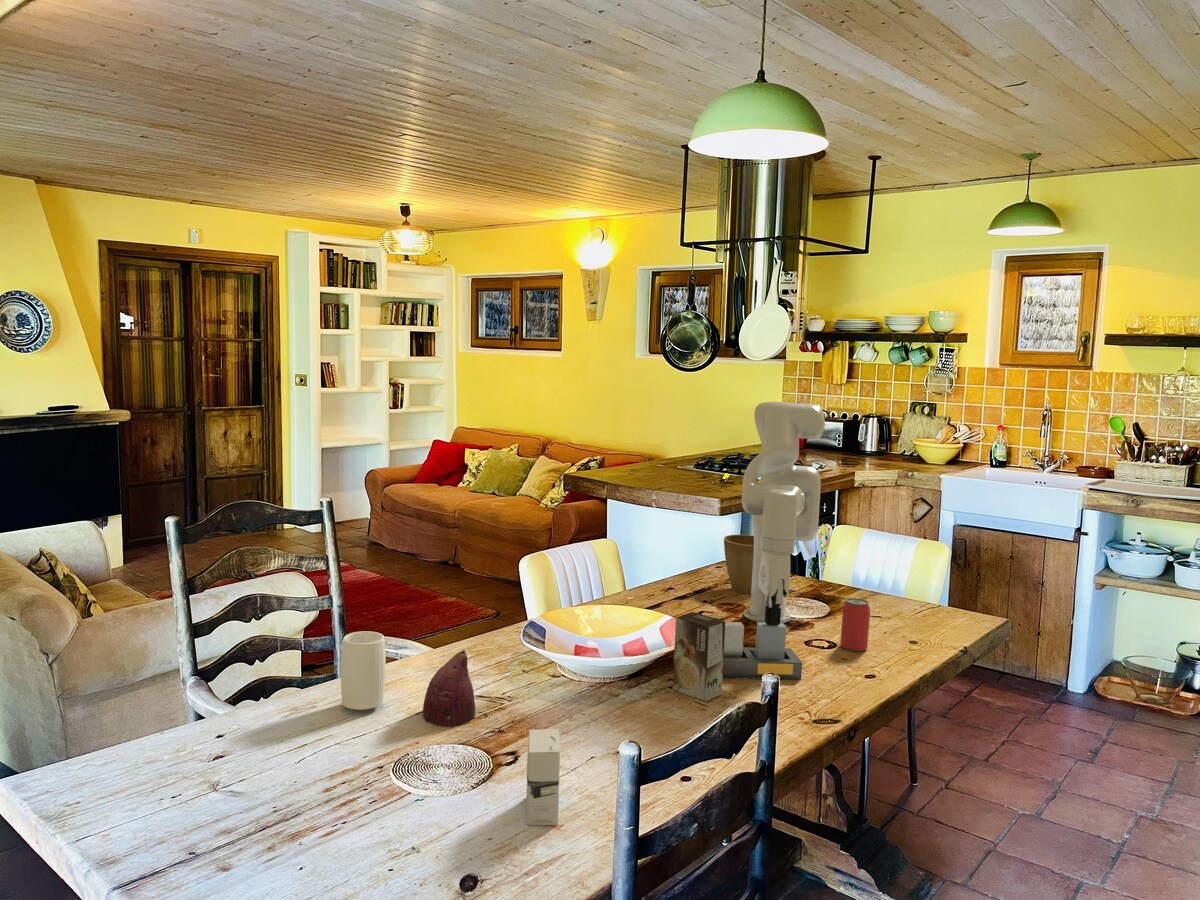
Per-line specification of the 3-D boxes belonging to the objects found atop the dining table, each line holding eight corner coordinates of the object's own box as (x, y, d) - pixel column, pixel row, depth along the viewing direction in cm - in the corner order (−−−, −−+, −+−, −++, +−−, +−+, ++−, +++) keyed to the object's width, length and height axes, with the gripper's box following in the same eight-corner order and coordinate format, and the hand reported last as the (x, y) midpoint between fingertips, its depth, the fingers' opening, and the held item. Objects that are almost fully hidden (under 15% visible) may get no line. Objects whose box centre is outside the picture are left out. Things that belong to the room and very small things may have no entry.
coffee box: (723, 694, 191) (727, 621, 189) (705, 702, 186) (709, 627, 185) (688, 682, 197) (692, 611, 196) (670, 689, 193) (674, 616, 191)
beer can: (864, 644, 229) (868, 598, 227) (869, 653, 222) (873, 605, 221) (838, 642, 229) (841, 596, 228) (842, 651, 223) (846, 603, 221)
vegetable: (480, 726, 178) (503, 655, 177) (455, 740, 168) (480, 665, 167) (435, 704, 181) (458, 634, 180) (408, 716, 171) (433, 643, 170)
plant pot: (719, 595, 269) (722, 542, 267) (721, 582, 284) (724, 532, 282) (770, 599, 267) (773, 546, 265) (769, 586, 281) (772, 536, 279)
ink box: (525, 798, 144) (528, 727, 143) (556, 798, 145) (559, 727, 143) (525, 826, 136) (528, 751, 134) (558, 826, 136) (561, 751, 135)
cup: (370, 695, 182) (371, 627, 181) (393, 708, 176) (394, 638, 175) (332, 706, 176) (332, 636, 175) (354, 720, 170) (355, 647, 169)
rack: (696, 663, 210) (699, 617, 208) (790, 664, 211) (793, 619, 210) (704, 678, 200) (707, 630, 199) (802, 680, 202) (806, 632, 200)
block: (754, 664, 207) (757, 622, 206) (780, 665, 208) (783, 623, 207) (757, 669, 204) (760, 626, 203) (783, 669, 205) (786, 627, 204)
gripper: (753, 537, 210) (748, 613, 212) (769, 551, 195) (763, 634, 197) (785, 538, 210) (779, 614, 212) (803, 552, 196) (797, 634, 198)
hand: (772, 623), depth 205 cm, fingers closed
